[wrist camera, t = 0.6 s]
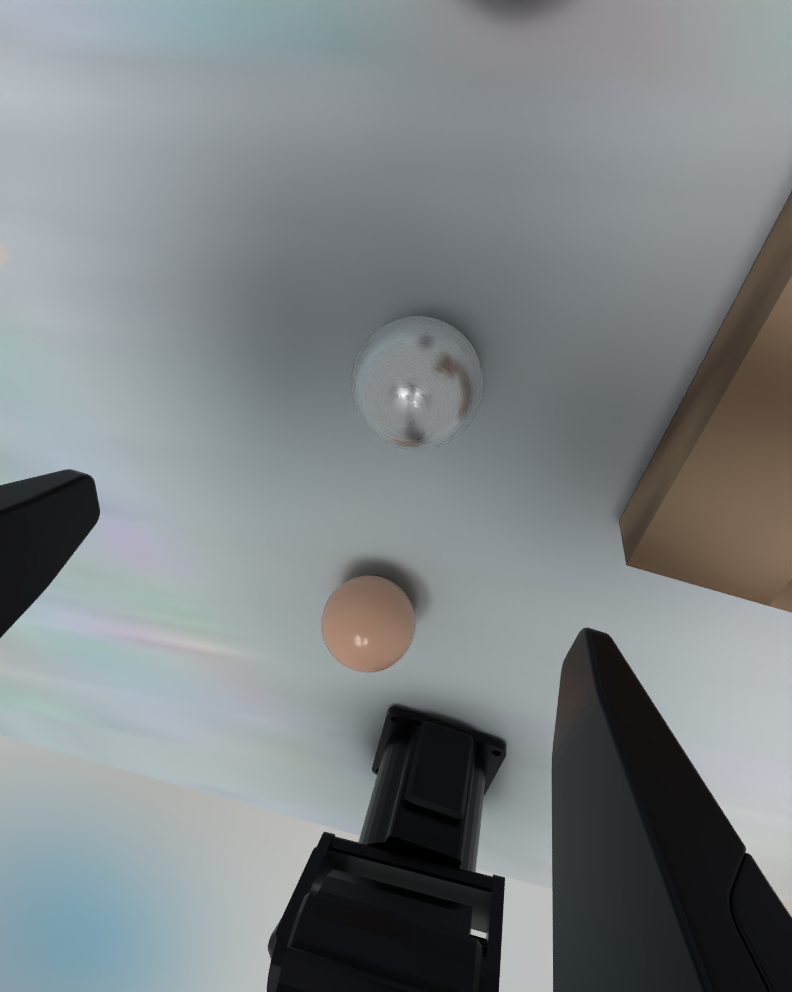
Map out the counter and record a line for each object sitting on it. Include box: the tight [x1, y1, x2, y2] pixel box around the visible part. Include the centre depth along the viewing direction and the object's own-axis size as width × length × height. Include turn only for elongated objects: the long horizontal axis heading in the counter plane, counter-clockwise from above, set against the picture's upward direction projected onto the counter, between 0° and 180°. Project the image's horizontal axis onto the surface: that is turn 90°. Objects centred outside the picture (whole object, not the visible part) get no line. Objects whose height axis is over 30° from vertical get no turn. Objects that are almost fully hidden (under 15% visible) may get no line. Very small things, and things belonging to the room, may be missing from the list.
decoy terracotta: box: [321, 576, 415, 672], centre depth 23 cm, size 4×4×4 cm
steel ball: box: [352, 316, 483, 450], centre depth 16 cm, size 4×4×4 cm
